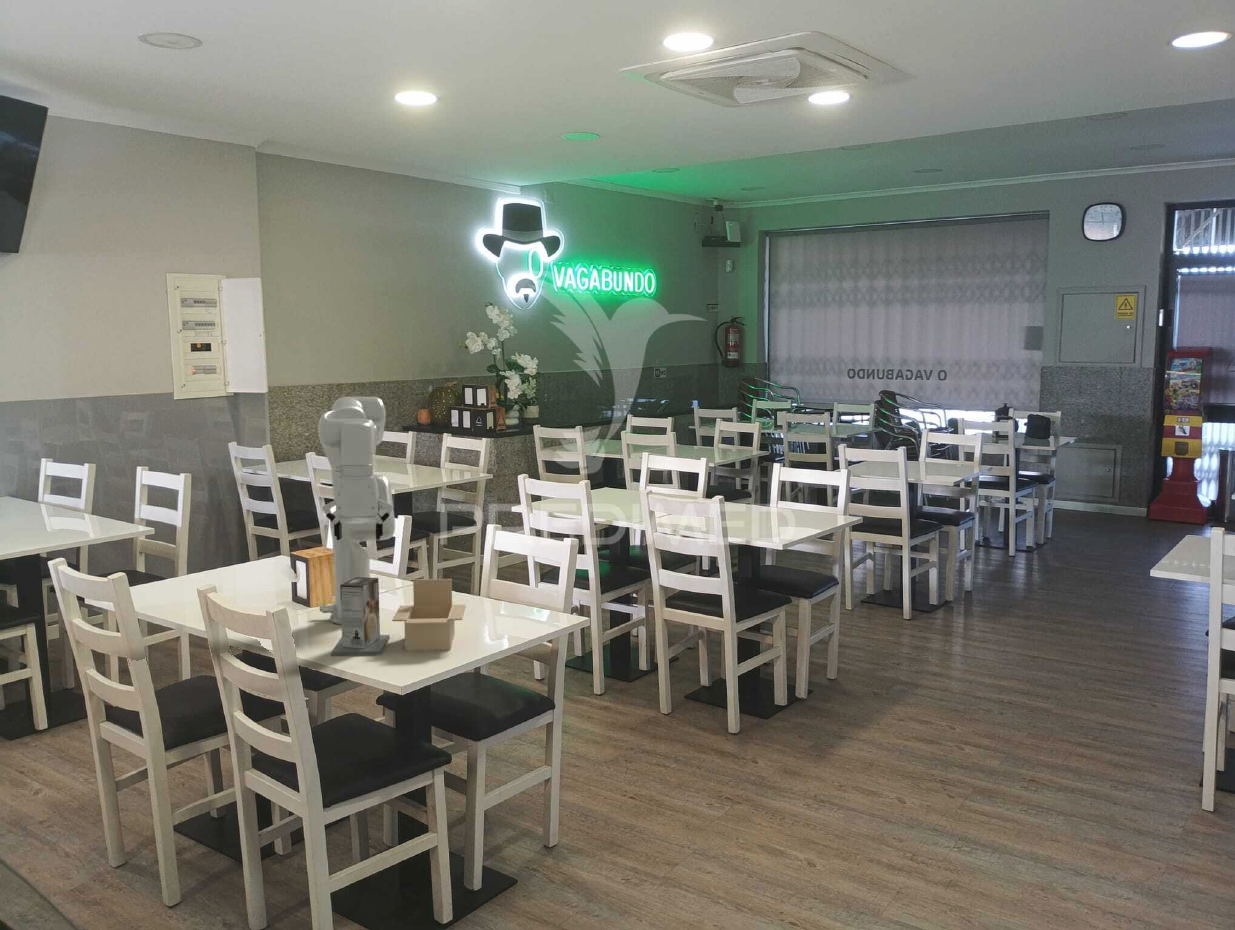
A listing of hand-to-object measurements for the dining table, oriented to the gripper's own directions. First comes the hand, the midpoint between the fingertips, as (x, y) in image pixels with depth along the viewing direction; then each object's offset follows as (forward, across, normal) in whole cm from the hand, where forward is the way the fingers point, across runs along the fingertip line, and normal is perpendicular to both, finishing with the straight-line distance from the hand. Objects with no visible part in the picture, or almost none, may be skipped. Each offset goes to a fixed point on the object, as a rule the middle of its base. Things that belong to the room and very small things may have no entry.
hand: (358, 538), depth 236 cm
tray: (+28, 0, -1) cm, 28 cm away
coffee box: (+27, 0, -1) cm, 27 cm away
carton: (+28, +17, +1) cm, 33 cm away
